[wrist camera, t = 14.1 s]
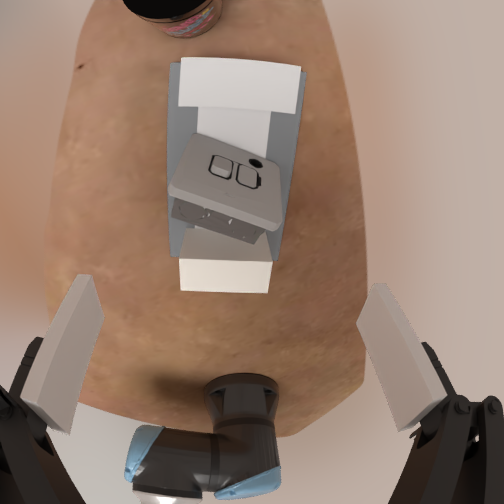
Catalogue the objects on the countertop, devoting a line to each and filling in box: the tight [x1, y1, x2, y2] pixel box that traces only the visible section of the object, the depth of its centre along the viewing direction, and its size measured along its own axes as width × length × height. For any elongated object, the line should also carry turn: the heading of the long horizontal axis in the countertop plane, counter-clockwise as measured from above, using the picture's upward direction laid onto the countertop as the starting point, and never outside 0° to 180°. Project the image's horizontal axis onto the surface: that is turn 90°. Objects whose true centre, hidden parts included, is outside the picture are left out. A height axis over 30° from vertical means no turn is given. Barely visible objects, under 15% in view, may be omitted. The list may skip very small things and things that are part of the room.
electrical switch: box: [168, 133, 282, 245], centre depth 25 cm, size 9×5×9 cm, turn 66°
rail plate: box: [167, 57, 307, 293], centre depth 27 cm, size 22×13×7 cm, turn 174°
